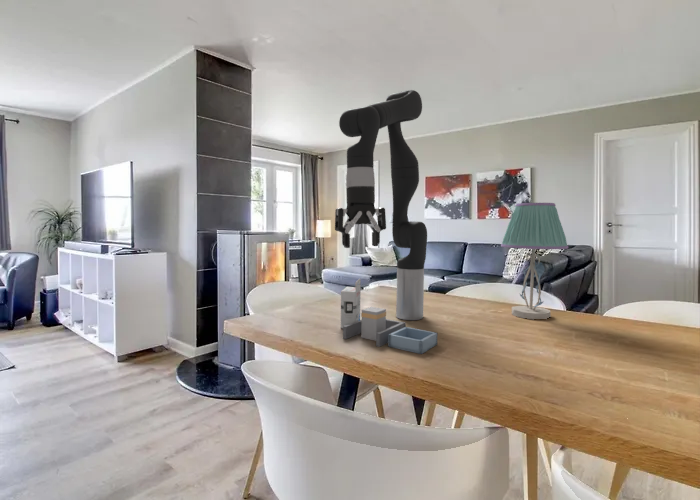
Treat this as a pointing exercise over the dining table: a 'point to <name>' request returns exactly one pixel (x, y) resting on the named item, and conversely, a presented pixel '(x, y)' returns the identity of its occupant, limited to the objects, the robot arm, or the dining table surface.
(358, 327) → the bay
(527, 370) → the dining table surface
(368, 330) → the tan-banded grey block
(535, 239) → the table lamp
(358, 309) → the ink box
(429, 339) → the tray
